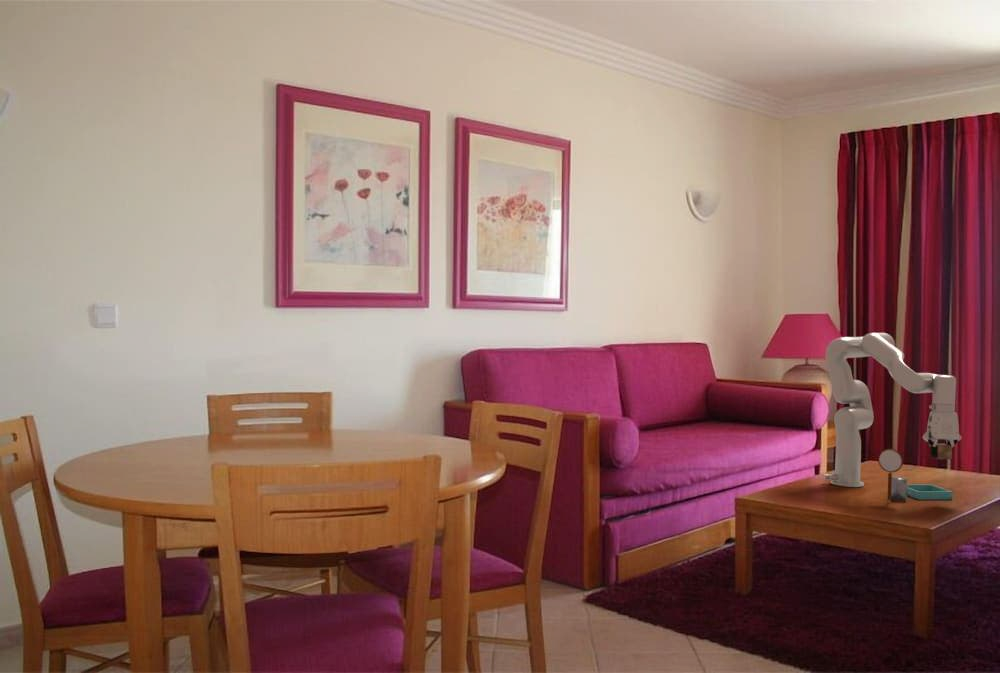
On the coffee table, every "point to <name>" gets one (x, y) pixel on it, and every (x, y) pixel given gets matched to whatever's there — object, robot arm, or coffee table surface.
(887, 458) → the magnifying glass
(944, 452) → the walnut block
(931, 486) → the teal tray
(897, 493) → the metal tin
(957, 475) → the coffee table surface
